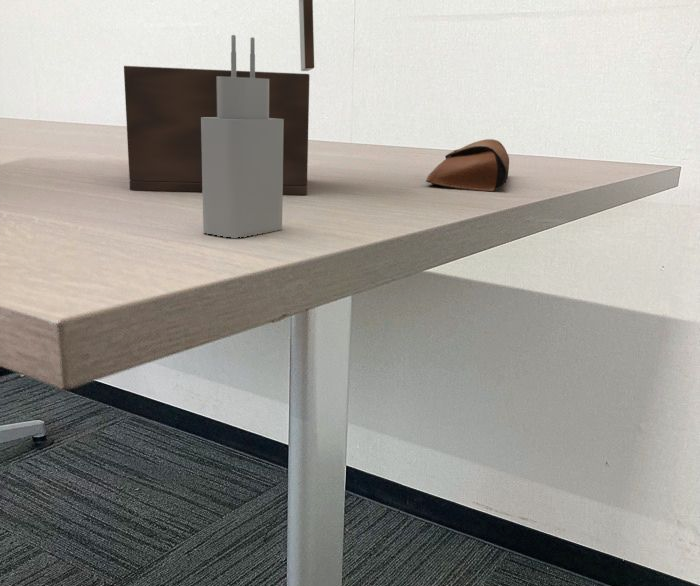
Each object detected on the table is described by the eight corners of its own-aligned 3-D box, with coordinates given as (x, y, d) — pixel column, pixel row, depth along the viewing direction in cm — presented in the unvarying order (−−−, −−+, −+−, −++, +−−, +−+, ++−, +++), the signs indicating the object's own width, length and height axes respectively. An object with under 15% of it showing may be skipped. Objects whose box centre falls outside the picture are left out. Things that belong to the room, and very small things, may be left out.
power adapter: (286, 228, 53) (289, 39, 49) (235, 239, 48) (234, 32, 44) (250, 222, 54) (250, 39, 50) (198, 232, 50) (193, 32, 46)
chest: (129, 190, 68) (123, 65, 64) (151, 174, 80) (147, 68, 76) (306, 195, 69) (309, 73, 66) (302, 179, 81) (304, 75, 78)
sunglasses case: (437, 166, 95) (469, 119, 93) (483, 199, 96) (516, 153, 93) (423, 182, 79) (461, 125, 76) (479, 221, 79) (519, 166, 76)
